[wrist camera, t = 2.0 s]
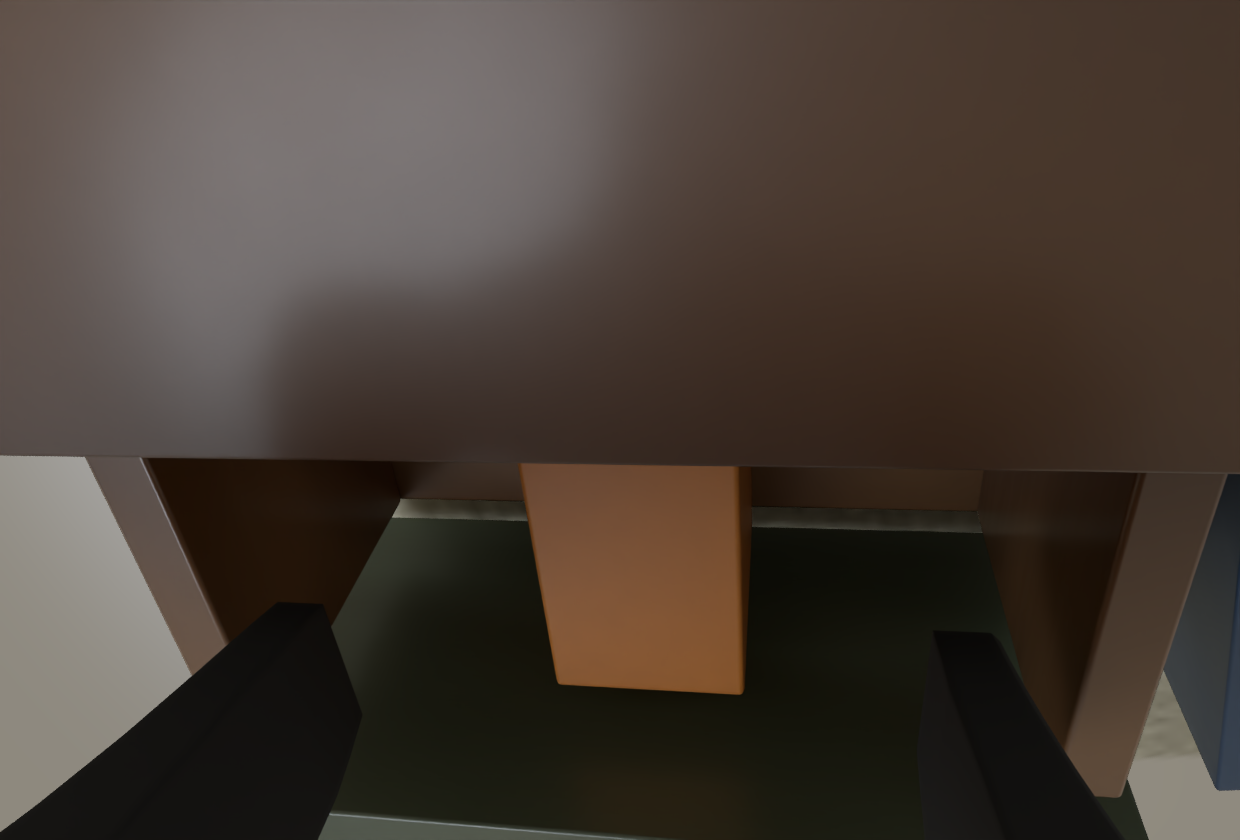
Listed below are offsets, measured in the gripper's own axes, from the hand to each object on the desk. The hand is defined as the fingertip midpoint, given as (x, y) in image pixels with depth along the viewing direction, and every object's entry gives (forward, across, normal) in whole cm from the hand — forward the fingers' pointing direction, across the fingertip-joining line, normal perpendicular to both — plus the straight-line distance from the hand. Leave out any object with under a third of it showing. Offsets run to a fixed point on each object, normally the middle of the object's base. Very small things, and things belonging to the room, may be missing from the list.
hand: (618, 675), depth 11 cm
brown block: (+6, 0, 0) cm, 6 cm away
